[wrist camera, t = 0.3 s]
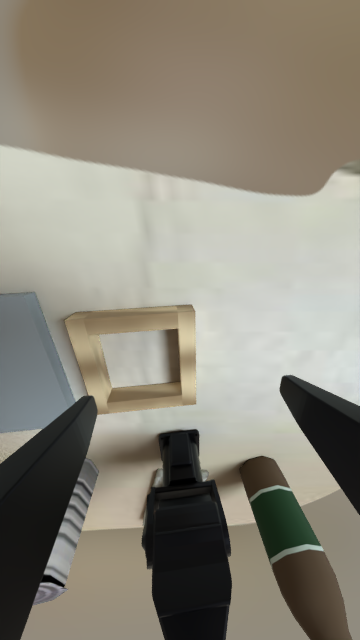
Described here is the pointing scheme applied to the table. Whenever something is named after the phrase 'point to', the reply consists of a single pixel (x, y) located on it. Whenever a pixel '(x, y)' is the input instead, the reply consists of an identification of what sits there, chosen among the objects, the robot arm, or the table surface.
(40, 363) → the hook board
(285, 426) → the table surface
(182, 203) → the table surface
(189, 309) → the oak loop
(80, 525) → the can
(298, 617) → the beer bottle
